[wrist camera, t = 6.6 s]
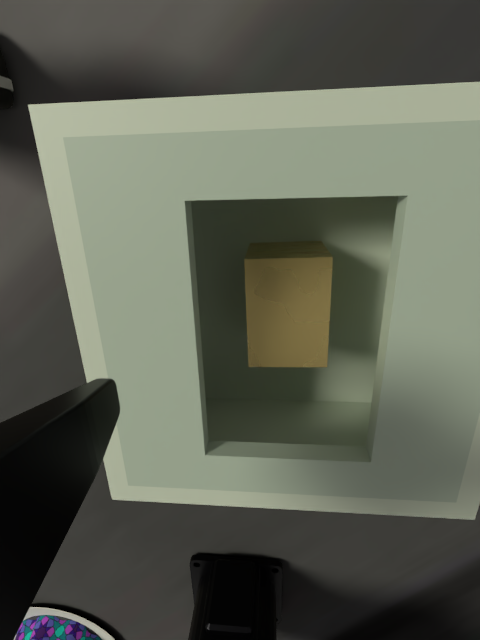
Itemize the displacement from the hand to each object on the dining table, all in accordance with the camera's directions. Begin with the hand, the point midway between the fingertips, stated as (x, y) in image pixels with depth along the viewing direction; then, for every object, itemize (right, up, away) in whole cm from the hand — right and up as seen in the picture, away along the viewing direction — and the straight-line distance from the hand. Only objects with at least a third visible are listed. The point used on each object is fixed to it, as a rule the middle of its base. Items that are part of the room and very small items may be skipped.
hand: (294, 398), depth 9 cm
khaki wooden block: (+1, +3, +8) cm, 9 cm away
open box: (+1, +4, +9) cm, 10 cm away
